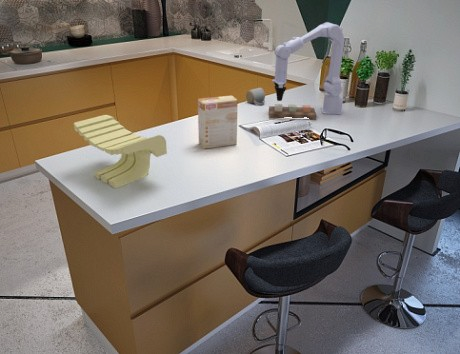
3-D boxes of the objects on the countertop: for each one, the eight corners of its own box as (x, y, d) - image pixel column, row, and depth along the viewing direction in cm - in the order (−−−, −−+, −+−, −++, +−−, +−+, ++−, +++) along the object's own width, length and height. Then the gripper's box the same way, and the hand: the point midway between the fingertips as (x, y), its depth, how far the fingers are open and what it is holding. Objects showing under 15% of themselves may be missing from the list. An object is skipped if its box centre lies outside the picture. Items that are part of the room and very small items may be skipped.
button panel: (313, 112, 223) (313, 107, 222) (316, 120, 212) (316, 115, 211) (268, 110, 224) (269, 106, 223) (269, 118, 213) (269, 113, 212)
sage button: (295, 110, 219) (296, 104, 217) (296, 112, 215) (296, 107, 214) (288, 110, 219) (288, 104, 218) (288, 112, 216) (289, 106, 214)
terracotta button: (309, 111, 218) (310, 105, 217) (310, 113, 215) (310, 107, 214) (302, 110, 219) (302, 105, 217) (302, 113, 215) (303, 107, 214)
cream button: (281, 110, 219) (282, 104, 218) (282, 112, 216) (282, 106, 214) (274, 109, 219) (274, 104, 218) (274, 112, 216) (274, 106, 215)
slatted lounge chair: (168, 180, 151) (165, 132, 143) (130, 196, 140) (125, 145, 132) (117, 156, 169) (112, 112, 161) (80, 169, 158) (73, 122, 150)
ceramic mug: (244, 101, 238) (245, 87, 235) (256, 99, 242) (257, 86, 239) (256, 107, 230) (256, 92, 227) (268, 104, 234) (269, 90, 231)
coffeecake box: (231, 139, 188) (231, 95, 179) (237, 144, 182) (238, 99, 173) (198, 143, 183) (197, 98, 174) (203, 149, 177) (202, 103, 168)
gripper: (272, 67, 215) (270, 94, 221) (273, 74, 202) (271, 102, 208) (286, 68, 215) (284, 94, 221) (288, 74, 202) (286, 103, 208)
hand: (279, 98), depth 215 cm, fingers open, 7 cm apart
